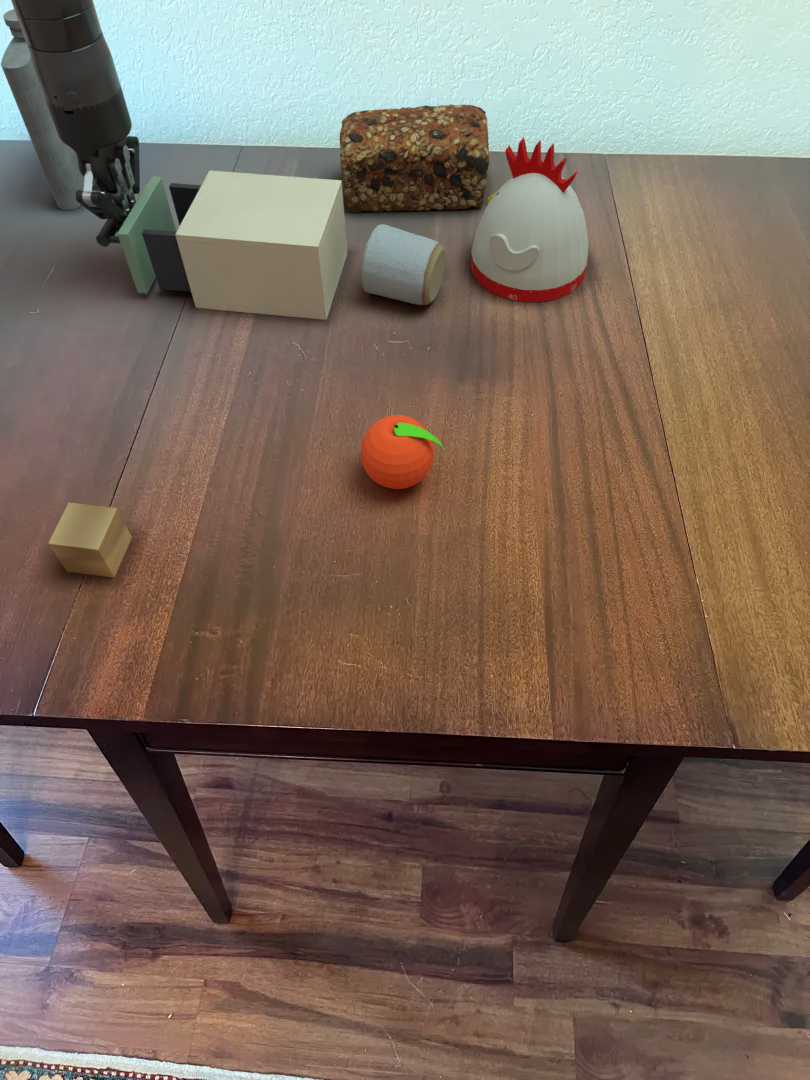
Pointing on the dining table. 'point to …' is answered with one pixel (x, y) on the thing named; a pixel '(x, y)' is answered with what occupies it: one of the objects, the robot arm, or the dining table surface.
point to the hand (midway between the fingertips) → (132, 239)
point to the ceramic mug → (403, 265)
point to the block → (90, 540)
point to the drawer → (153, 236)
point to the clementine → (397, 451)
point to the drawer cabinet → (264, 244)
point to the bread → (415, 158)
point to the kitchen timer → (531, 232)
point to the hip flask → (40, 120)
